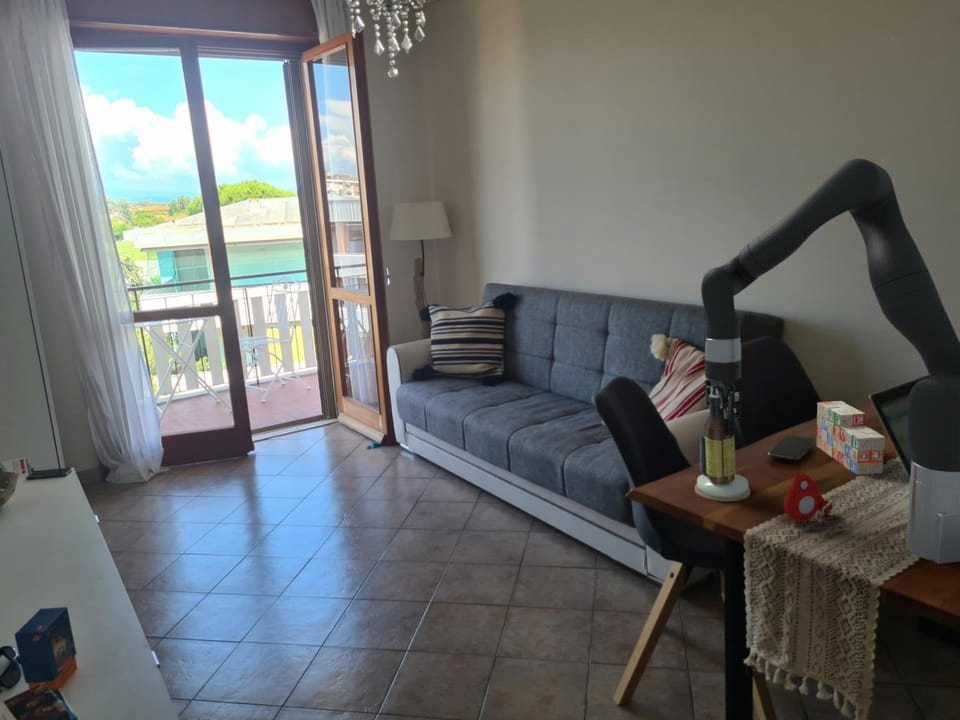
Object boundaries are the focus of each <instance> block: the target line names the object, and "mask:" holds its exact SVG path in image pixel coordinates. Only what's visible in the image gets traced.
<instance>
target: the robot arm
mask: <svg viewBox="0 0 960 720" xmlns="http://www.w3.org/2000/svg"><path fill="white" fill-rule="evenodd" d="M846 212H849V214H850V216H851V218H852V219H853V220H854V222H855V224H856V226H857V227H858V230H859V232H860V234H861V237H862V239H863V242H864V245H865V250H866V258H867V259H866V260H867V261H866V262H867V268H868V276H869V281H870V284H871V287H872V289H873V293H874V295H875V298H876V300H877V302H878V304H879V307H880V309H881V311H882V313H883V316H884V317H885V319H887V320H888V322H889V323H890V325H892V326H893V327H894V328H895V330H897V332H899V333H900V334H901V335H902V336H903V337H904V338H905V339H906V340H907V341H908V342H909V343H910V344H911V345H912V346H913V347H914V349H915V350H916V351H917V352H918V354H919V356H920V358H921V359H922V361H923V363H924V365H925V367H926V370H927V372H928V376H929V377H926V378H923V379H921V380H918V381H917V382H916V383H915V384H914V385H913V387H912V388H911V390H910V393H909V395H908V401H907V443H908V446H909V448H910V451H911V466H910V478H909V490H908V491H909V493H908V494H909V495H908V509H907V510H908V511H907V526H906V544H905V547H906V549H907V550H908V551H909V552H910V553H911V554H913V555H914V556H916V557H919V558H921V559H924V560H928V561H932V562H935V564H938V565H942V564H949V563H955V562H956V563H957V562H960V339H959V337H958V335H957V333H956V331H955V329H954V326H953V324H952V321H951V320H950V318H949V315H948V313H947V310H946V309H945V306H944V305H943V303H942V299H941V297H940V295H939V292H938V289H937V287H936V284H935V283H934V279H933V278H932V276H931V273H930V271H929V268H928V266H927V265H926V263H925V261H924V260H925V259H924V257H922V253H921V252H920V250H919V248H918V246H917V243H916V242H915V241H914V239H913V236H912V235H911V233H910V232H909V230H908V228H907V226H906V224H905V221H904V218H903V215H902V212H901V209H900V205H899V202H898V198H897V195H896V192H895V187H894V183H893V181H892V178H891V176H890V174H889V173H888V171H887V170H886V169H885V168H883V167H882V166H880V165H878V164H876V163H874V162H873V161H870V160H868V159H866V158H854V159H850V160H847V161H845V162H843V163H842V164H840V165H839V166H837V168H835V170H833V171H832V172H831V173H830V174H829V175H828V176H827V177H826V178H825V179H824V180H823V181H822V182H821V183H819V185H818V186H817V187H816V188H815V189H814V190H813V191H812V192H811V193H810V194H808V195H807V197H806V198H804V199H803V200H802V201H801V202H800V203H799V204H798V205H796V207H794V209H792V210H791V211H790V212H788V213H787V215H784V216H783V218H782V219H780V220H779V221H777V222H776V223H775V224H773V225H772V226H771V227H769V228H768V229H767V230H766V231H764V232H763V233H761V234H760V235H758V236H757V237H755V239H753V240H751V241H750V242H749V243H748V244H746V245H745V246H743V248H742V249H740V251H739V253H738V254H737V255H736V256H734V257H732V259H730V260H729V261H727V262H726V263H724V264H723V265H721V266H718V267H717V266H716V267H713V268H711V269H709V270H708V271H707V272H706V273H705V274H704V276H703V278H702V282H701V288H700V290H701V300H702V305H703V310H704V313H705V318H706V319H705V330H706V331H705V337H706V338H705V345H704V376H705V377H704V378H705V379H704V391H705V393H704V394H705V404H706V406H708V408H709V410H710V403H709V395H710V394H716V396H717V397H719V406H720V409H722V410H723V415H724V434H725V435H727V436H728V435H734V436H735V434H736V419H739V418H742V417H741V416H742V403H743V392H742V391H736V387H735V382H736V381H738V380H739V379H740V378H741V377H742V343H741V318H740V314H739V312H738V311H737V310H735V299H734V297H735V296H736V295H738V294H739V293H741V292H743V291H745V289H746V288H747V287H749V286H750V285H752V283H754V282H755V281H756V280H757V279H758V278H759V277H761V276H763V275H765V274H766V273H768V272H769V271H771V270H773V269H774V268H775V267H777V266H778V265H780V264H781V263H782V262H785V261H786V260H787V259H788V258H789V257H791V256H792V255H794V253H795V252H796V251H798V250H799V248H801V246H802V245H803V244H804V243H805V242H806V241H808V238H809V237H810V236H812V234H814V232H816V231H817V230H818V229H819V228H821V227H822V226H823V225H825V224H826V223H829V221H832V220H833V219H834V218H836V217H838V216H840V215H842V214H844V213H846ZM724 403H727V405H725V404H724ZM727 411H728V412H727Z"/></svg>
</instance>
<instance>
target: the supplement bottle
mask: <svg viewBox="0 0 960 720" xmlns="http://www.w3.org/2000/svg"><path fill="white" fill-rule="evenodd" d="M705 423H706V421H705ZM705 423H704V424H705ZM703 431H704V432H703V433H702V435H700V437H699V471H700V473H701V475H702V474H703V475H706V476H707V471H706V449H705V427H704V429H703Z"/></svg>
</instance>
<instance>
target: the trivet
mask: <svg viewBox="0 0 960 720" xmlns="http://www.w3.org/2000/svg"><path fill="white" fill-rule="evenodd" d="M694 492H695V494H696V495H698V496H700V497H702V498H703V499H706V500H710V501H714V502H722V503H723V502H725V503H726V502H727V503H729V502H730V503H731V502H739V501H743V500H745V499H747V498H748V497H750V496H751V488H750V487H749V481H748V479H747V478H745V477H744V476H742V475H740V474H738V473H737V474H736V473H735V479H734V481H732V482H729V483H715V482H712V481H710V480H709V479H708V478H707V476H706V475H703V474H702V473H701V474H700V475H698V477H697V479H696V483H695V486H694Z"/></svg>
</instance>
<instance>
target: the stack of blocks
mask: <svg viewBox="0 0 960 720" xmlns="http://www.w3.org/2000/svg"><path fill="white" fill-rule="evenodd" d="M816 405H817V408H816V409H817V413H816V447H818V448H819V449H820V450H821V451H822V452H823V453H825V454H826V455H828V456H830V457H831V458H833V460H836V461H837V462H839V463H840V464H841V465H842V466H843V467H845V468H846V469H847V470H849V471H851V473H853V474H855V475H857V476H858V475H861V476H862V475H874V473H877V474H883V467H884V466H883V465H884V456H885V455H884V451H885V446H886V443H885V442H886V436H884V435H882V434H881V433H879V432H878V431H875V430H874V429H872V428H870V427H869V426H866V413H865V412H864V411H861V410H859V409H857V408H855V407H853V406H851V405H849V404H847V403H846V402H844V401H842V400H838V401H837V400H836V401H820V402H817V404H816Z"/></svg>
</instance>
